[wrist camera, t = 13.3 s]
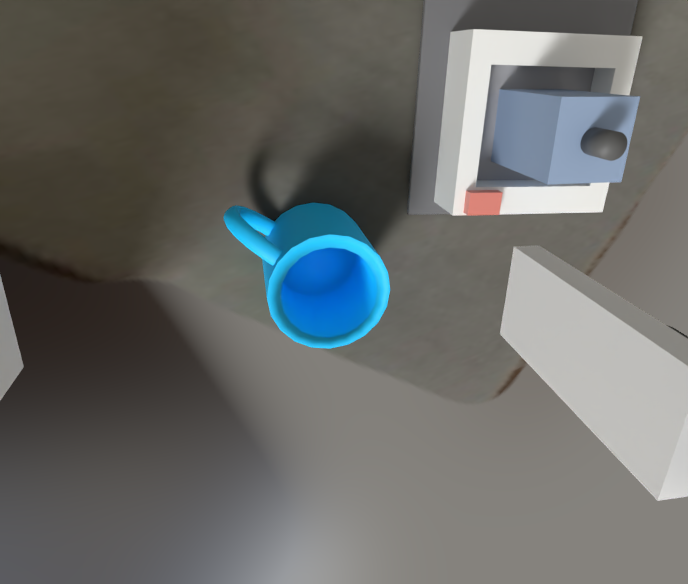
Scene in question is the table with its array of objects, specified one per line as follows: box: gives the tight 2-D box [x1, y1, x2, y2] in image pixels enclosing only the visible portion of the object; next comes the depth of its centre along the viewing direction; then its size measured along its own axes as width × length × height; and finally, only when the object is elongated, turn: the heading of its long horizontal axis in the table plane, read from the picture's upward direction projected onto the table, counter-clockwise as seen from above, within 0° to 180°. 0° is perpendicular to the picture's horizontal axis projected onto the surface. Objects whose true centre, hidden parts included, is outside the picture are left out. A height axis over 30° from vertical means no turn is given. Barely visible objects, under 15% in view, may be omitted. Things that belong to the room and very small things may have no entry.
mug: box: [224, 203, 390, 348], centre depth 38 cm, size 12×8×8 cm
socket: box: [407, 0, 643, 215], centre depth 38 cm, size 18×16×5 cm
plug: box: [491, 89, 640, 184], centre depth 34 cm, size 5×5×10 cm
